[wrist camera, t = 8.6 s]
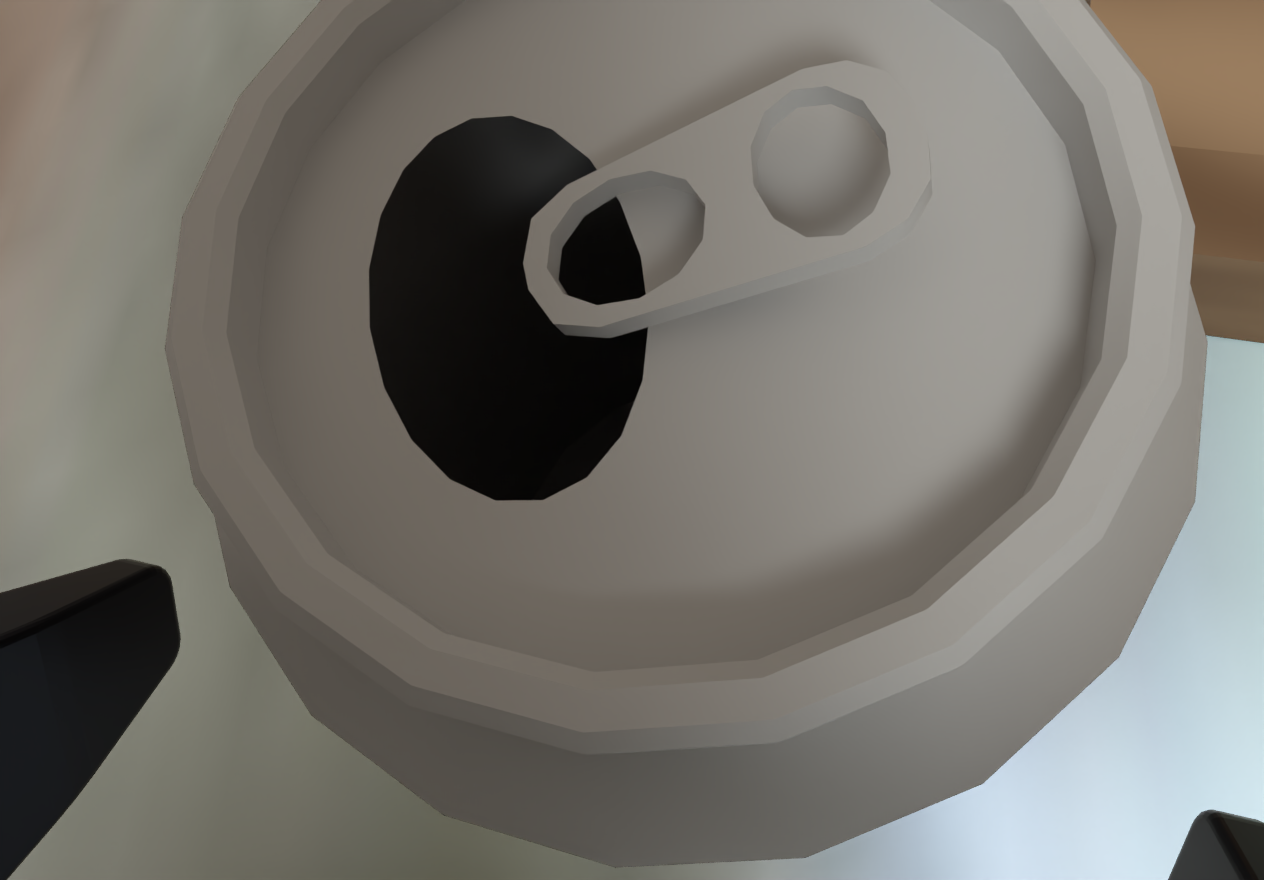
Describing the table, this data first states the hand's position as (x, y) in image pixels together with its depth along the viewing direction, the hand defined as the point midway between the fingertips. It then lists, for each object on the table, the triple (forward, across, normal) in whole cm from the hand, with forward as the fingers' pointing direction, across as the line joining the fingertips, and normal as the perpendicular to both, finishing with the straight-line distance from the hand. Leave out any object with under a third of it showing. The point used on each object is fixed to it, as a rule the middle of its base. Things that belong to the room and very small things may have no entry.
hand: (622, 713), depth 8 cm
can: (+8, 0, +4) cm, 9 cm away
